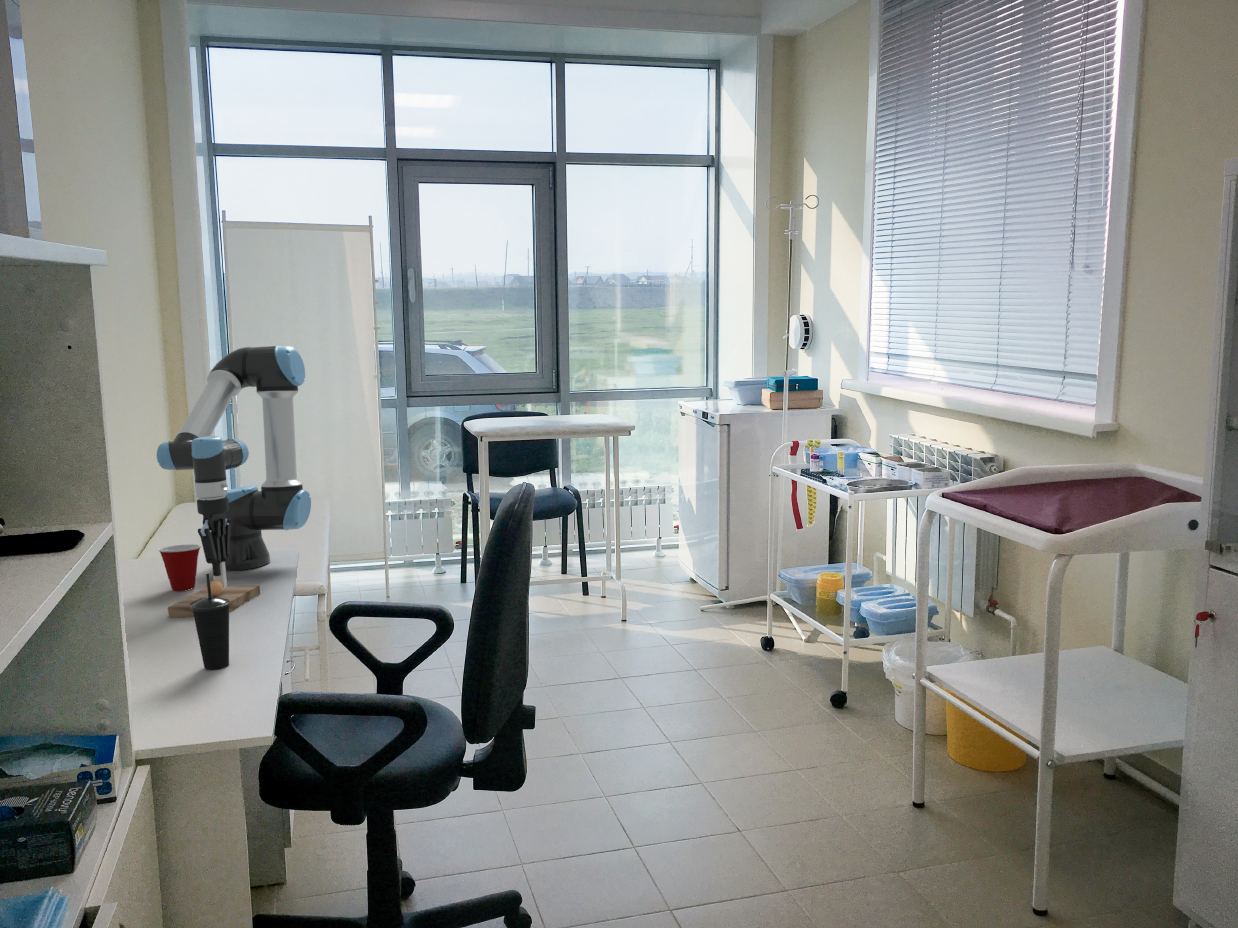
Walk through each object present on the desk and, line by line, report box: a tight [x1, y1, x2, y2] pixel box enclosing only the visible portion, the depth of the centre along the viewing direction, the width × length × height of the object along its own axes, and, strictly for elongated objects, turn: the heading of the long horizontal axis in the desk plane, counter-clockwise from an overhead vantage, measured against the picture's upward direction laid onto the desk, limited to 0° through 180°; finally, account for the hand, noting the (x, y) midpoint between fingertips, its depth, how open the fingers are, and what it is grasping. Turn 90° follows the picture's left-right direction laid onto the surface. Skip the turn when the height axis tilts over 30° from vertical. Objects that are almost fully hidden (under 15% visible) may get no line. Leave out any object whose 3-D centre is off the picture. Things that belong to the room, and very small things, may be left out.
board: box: [167, 584, 261, 618], centre depth 252 cm, size 20×14×2 cm
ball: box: [205, 580, 223, 596], centre depth 252 cm, size 4×4×4 cm
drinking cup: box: [191, 573, 230, 671], centre depth 205 cm, size 8×8×20 cm
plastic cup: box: [157, 543, 202, 592], centre depth 269 cm, size 11×11×12 cm
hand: (220, 586), depth 255 cm, fingers closed
